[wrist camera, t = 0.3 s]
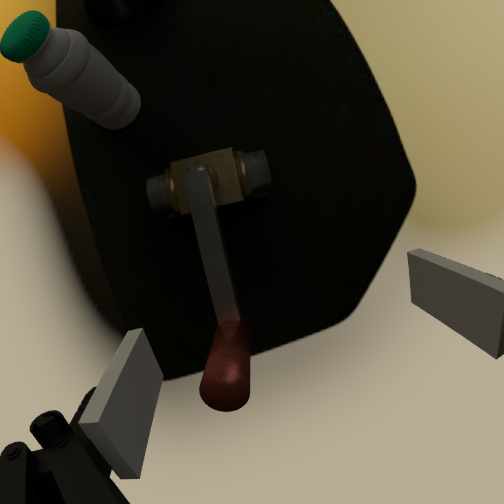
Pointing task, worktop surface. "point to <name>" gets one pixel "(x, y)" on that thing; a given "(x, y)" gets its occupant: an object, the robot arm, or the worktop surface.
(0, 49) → the water bottle
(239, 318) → the valve lever
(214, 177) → the valve body
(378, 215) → the worktop surface
